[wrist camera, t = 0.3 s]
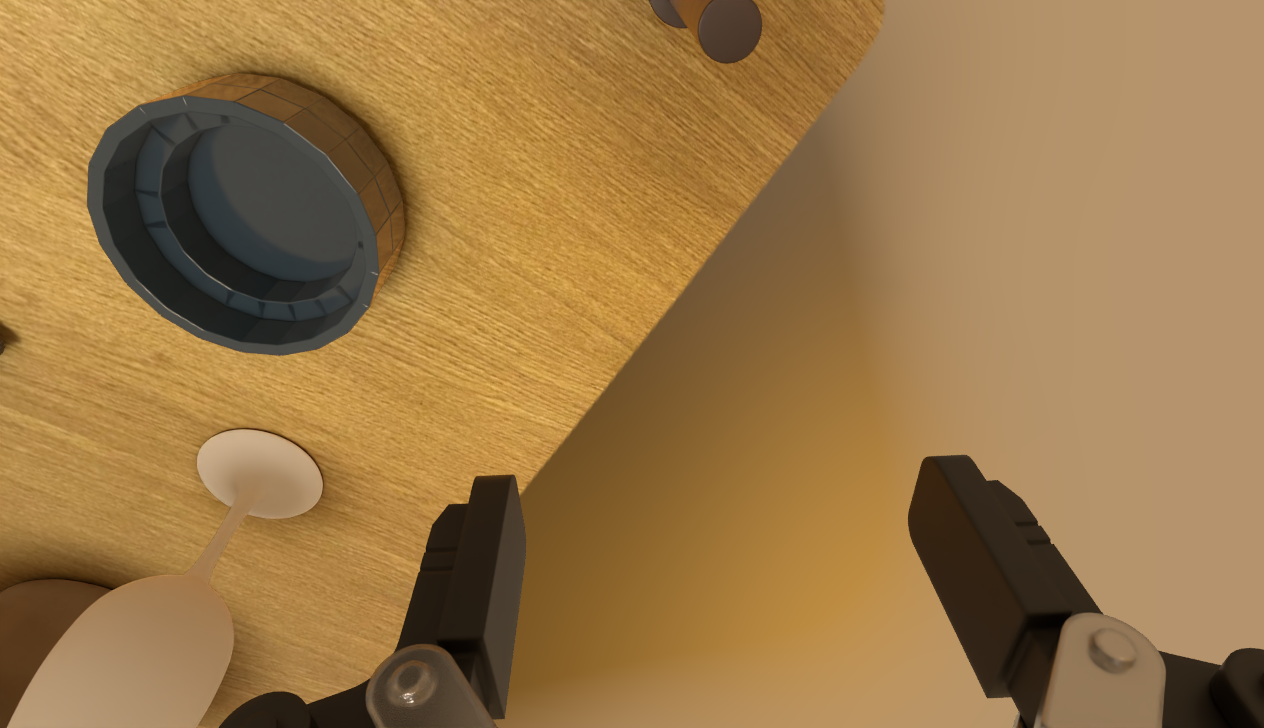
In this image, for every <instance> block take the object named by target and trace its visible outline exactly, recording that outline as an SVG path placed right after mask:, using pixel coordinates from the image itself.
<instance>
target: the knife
mask: <svg viewBox="0 0 1264 728" xmlns="http://www.w3.org/2000/svg"><path fill="white" fill-rule="evenodd" d="M4 348H5V346H4V342H3V341H2V339H1V338H0V355H1V354H2V353H3V351H4Z"/></svg>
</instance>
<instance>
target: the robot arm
mask: <svg viewBox="0 0 1264 728" xmlns="http://www.w3.org/2000/svg"><path fill="white" fill-rule="evenodd" d="M908 526H909V531H910V536H911V539H912V542H913V545H914V547H915V549H916V551H917V553H918V555H919V557H920V559H921V561H922V564H923V566H924V568H925V570H926V572H927V574H928V576H929V578H930V580H931V582H932V584H933V586H934V589H935V591H936V593H937V595H938V597H939V599H940V601H941V603H942V605H943V607H944V609H945V611H946V614H947V616H948V618H949V620H950V622H951V624H952V626H953V628H954V630H955V632H956V634H957V637H958V638H959V641H960V643H961V645H962V647H963V649H964V651H965V653H966V655H967V657H968V659H969V662H970V664H971V666H972V668H973V670H974V672H975V674H976V676H977V678H978V680H979V682H980V684H981V687H982V689H983V691H984V693H985V695H986V697H987V698H1003V697H1012V699H1013V701H1014V703H1015V705H1016V707H1017V709H1018V711H1019V712H1018V714H1017V716H1016V718H1015V721H1014V725H1013V728H1264V650H1262V649H1255V648H1245V649H1239V650H1236V651H1234V652H1233V653H1231V654H1230V655H1229V656H1228V658H1227V659H1226V660H1225V661H1224V663H1223V664H1222V665H1217V664H1213V663H1208V662H1203V661H1199V660H1195V659H1190V658H1186V657H1182V656H1177V655H1173V654H1169V653H1165V652H1162V651H1158V650H1157V649H1156V648H1155V646H1154V645H1153V644H1152V643H1151V642H1150V641H1149V640H1148V639H1147V638H1146V637H1145V636H1144V635H1143V634H1141V633H1140V632H1139V631H1137V630H1136V629H1135V628H1133V627H1131V626H1130V625H1128V624H1126V623H1124V622H1122V621H1120V620H1118V619H1116V618H1113V617H1110V616H1107V615H1104V614H1103V613H1102V612H1101V611H1100V609H1099V608H1098V606H1097V605H1096V604H1095V602H1094V601H1093V599H1092V598H1091V596H1090V595H1089V594H1088V592H1087V591H1086V589H1085V588H1084V587H1083V585H1082V584H1081V582H1080V581H1079V579H1078V578H1077V576H1076V575H1075V574H1074V572H1073V571H1072V569H1071V568H1070V567H1069V565H1068V564H1067V562H1066V561H1065V559H1064V558H1063V557H1062V555H1061V554H1060V552H1059V551H1058V550H1057V548H1056V547H1055V545H1054V544H1051V542H1050V538H1049V537H1048V535H1047V534H1046V532H1045V531H1044V529H1043V528H1042V527H1041V526H1038V521H1037V520H1036V518H1035V517H1034V515H1033V514H1032V513H1031V511H1030V510H1029V508H1028V507H1027V505H1026V504H1025V502H1024V501H1023V500H1022V499H1021V498H1020V497H1019V496H1017V495H1016V494H1015V493H1014V492H1012V491H1011V490H1010V489H1008V488H1007V487H1006V486H1004V485H1003V484H1002V483H1000V482H999V481H998V480H993V481H986V479H985V478H984V476H983V475H982V473H981V472H980V470H979V469H978V468H977V466H976V464H975V463H974V462H973V460H972V459H971V458H970V457H969V456H967V455H951V456H931V457H926V458H925V459H924V460H923V461H922V464H921V467H920V471H919V475H918V479H917V482H916V486H915V490H914V494H913V497H912V501H911V505H910V509H909V514H908ZM525 556H526V535H525V526H524V520H523V515H522V509H521V504H520V498H519V493H518V487H517V482H516V478H515V475H492V476H477V477H476V478H475V479H474V482H473V486H472V490H471V495H470V499H469V503H468V504H449V505H448V506H447V507H446V509H445V510H444V511H443V512H442V514H441V515H440V516H439V517H438V519H437V520H436V521H435V522H434V524H433V525H432V528H431V531H430V535H429V538H428V542H427V545H426V553H424V556H423V559H422V563H421V566H420V572H419V573H418V576H417V580H416V583H415V587H414V590H413V594H412V597H411V601H410V604H409V608H408V611H407V614H406V618H405V621H404V625H403V628H402V632H401V635H400V639H399V642H398V645H397V647H396V649H395V651H394V653H393V654H392V655H391V656H389V657H388V658H387V659H386V660H384V661H383V662H382V663H381V664H380V665H379V667H378V668H377V669H376V670H375V672H374V673H373V675H372V676H371V678H370V679H368V680H367V681H365V682H364V683H362V684H360V685H358V686H356V687H354V688H351V689H349V690H346V691H343V692H341V693H338V694H335V695H332V696H329V697H326V698H324V699H321V700H318V701H315V702H312V703H309V704H307V705H306V703H305V702H304V701H303V700H302V699H301V698H300V697H298V696H297V695H295V694H292V693H289V692H271V693H266V694H263V695H260V696H258V697H255V698H253V699H251V700H249V701H248V702H246V703H244V704H243V705H241V706H240V707H239V708H237V709H236V710H235V711H233V712H232V713H231V714H230V715H229V716H228V717H227V718H226V719H225V720H224V722H223V723H222V724H221V725H220V726H219V728H498V727H497V726H496V724H495V723H494V721H493V720H492V719H504V718H505V711H506V704H507V696H508V689H509V681H510V673H511V666H512V658H513V650H514V643H515V635H516V627H517V620H518V612H519V604H520V595H521V588H522V581H523V573H524V565H525Z"/></svg>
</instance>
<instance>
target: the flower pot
mask: <svg viewBox="0 0 1264 728" xmlns="http://www.w3.org/2000/svg"><path fill="white" fill-rule="evenodd" d="M110 591H112V590H110V589H107V588H104V587H101V586H97V585H92V584H88V583H83V582H78V581H70V580H60V579H44V580H33V581H27V582H23V583H19V584H16V585H13V586H11V587H9V588H7V589H5V590H3V591H2V592H0V728H7V726H8V724H9V722H10V720H11V718H12V716H13V714H14V712H15V710H16V708H17V706H18V704H19V702H20V700H21V698H22V697H23V695H24V693H25V691H26V689H27V688H28V686H29V684H30V682H31V681H32V679H33V677H34V676H35V674H36V672H37V671H38V669H39V668H40V666H41V665H42V663H43V662H44V660H45V659H46V657H47V656H48V654H49V653H50V652H51V650H52V649H53V648H54V646H55V645H56V644H57V642H58V641H59V640H60V639H61V637H62V636H63V635H64V634H65V632H66V631H67V630H68V629H69V628H70V627H71V625H72V624H73V623H74V622H75V621H76V620H77V619H78V618H79V616H80V615H81V614H82V613H83V612H84V611H85V610H86V609H87V608H89V607H90V606H91V605H92V604H93V603H94V602H96V601H97V600H98V599H99V598H101V597H102V596H104V595H105V594H107V593H109V592H110Z"/></svg>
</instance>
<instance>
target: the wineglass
mask: <svg viewBox="0 0 1264 728" xmlns="http://www.w3.org/2000/svg"><path fill="white" fill-rule="evenodd" d="M197 468H198V472H199V475H200V477H201V480H202V481H203V483H204V485H205V486H206V487H207V489H208V490H209V491H210V492H211V493H212V494H213V495H214V496H215V497H216V498H218V499H219V500H220V501H222V502H223V503H224V504H226V505H228V506H229V507H231V508H230V510H229V512H228V514H227V516H226V517H225V519H224V521H223V523H222V524H221V526H220V528H219V529H218V531H217V533H216V534H215V536H214V537H213V539H212V540H211V542H210V543H209V545H208V546H207V548H206V549H205V551H204V552H203V553H202V555H201V556H200V557H199V559H198V560H197V561H196V562H195V564H194V565H193V566H192V567H191V568H190V569H189V570H188V571H187V572H186V573H184V574H183V575H157V576H151V577H146V578H142V579H139V580H135V581H132V582H130V583H127V584H125V585H122V586H120V587H118V588H116V589H114V590H112V591H110V592H109V593H107V594H105V595H104V596H102V597H101V598H99V599H98V600H97V601H96V602H94V603H93V604H92V605H91V606H90V607H89V608H87V609H86V610H85V611H84V612H83V613H82V614H81V615H80V616H79V618H78V619H77V620H76V621H75V622H74V623H73V624H72V625H71V627H70V628H69V629H68V630H67V631H66V632H65V634H64V635H63V636H62V637H61V639H60V640H59V641H58V642H57V644H56V645H55V646H54V648H53V649H52V650H51V652H50V653H49V654H48V656H47V657H46V659H45V660H44V662H43V663H42V665H41V666H40V668H39V669H38V671H37V672H36V674H35V676H34V677H33V679H32V681H31V682H30V684H29V686H28V688H27V689H26V691H25V693H24V695H23V697H22V698H21V700H20V702H19V704H18V706H17V708H16V710H15V712H14V714H13V716H12V718H11V720H10V722H9V724H8V726H7V728H196V727H197V726H198V724H199V723H200V721H201V719H202V718H203V716H204V714H205V713H206V711H207V709H208V707H209V706H210V704H211V702H212V700H213V698H214V696H215V694H216V692H217V690H218V688H219V686H220V684H221V682H222V680H223V677H224V675H225V673H226V670H227V667H228V665H229V662H230V659H231V656H232V651H233V646H234V628H233V623H232V618H231V615H230V613H229V610H228V608H227V606H226V604H225V603H224V601H223V599H222V598H221V597H220V596H219V594H218V593H217V592H216V591H215V590H214V589H213V588H211V587H210V586H209V580H210V577H211V574H212V572H213V569H214V567H215V565H216V563H217V561H218V559H219V557H220V556H221V554H222V552H223V550H224V549H225V547H226V545H227V544H228V542H229V540H230V539H231V537H232V536H233V534H234V533H235V531H236V530H237V528H238V527H239V525H240V524H241V522H242V521H243V519H244V518H245V517H246V515H247V514H248V515H251V516H256V517H261V518H269V519H282V518H290V517H294V516H297V515H300V514H303V513H305V512H306V511H308V510H310V509H311V508H312V507H313V506H314V505H315V504H316V503H317V502H318V501H319V499H320V497H321V494H322V490H323V482H322V477H321V474H320V471H319V469H318V467H317V465H316V464H315V463H314V461H313V460H312V459H311V458H310V456H309V455H308V454H307V453H305V452H304V451H303V450H302V449H301V448H299V447H298V446H296V445H295V444H293V443H292V442H290V441H288V440H286V439H284V438H282V437H279V436H277V435H274V434H271V433H267V432H263V431H258V430H248V429H240V430H231V431H226V432H223V433H220V434H218V435H215V436H213V437H212V438H210V439H209V440H208V441H206V442H205V443H204V445H203V446H202V447H201V449H200V451H199V453H198V457H197Z"/></svg>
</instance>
